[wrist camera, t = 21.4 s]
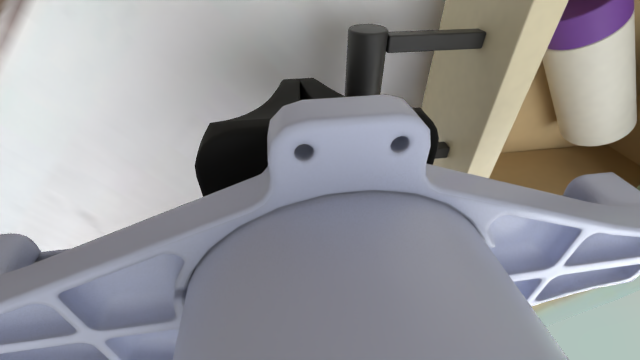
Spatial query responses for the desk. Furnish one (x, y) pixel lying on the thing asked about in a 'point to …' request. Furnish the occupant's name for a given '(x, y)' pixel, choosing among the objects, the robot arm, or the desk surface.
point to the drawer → (495, 93)
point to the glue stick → (593, 71)
